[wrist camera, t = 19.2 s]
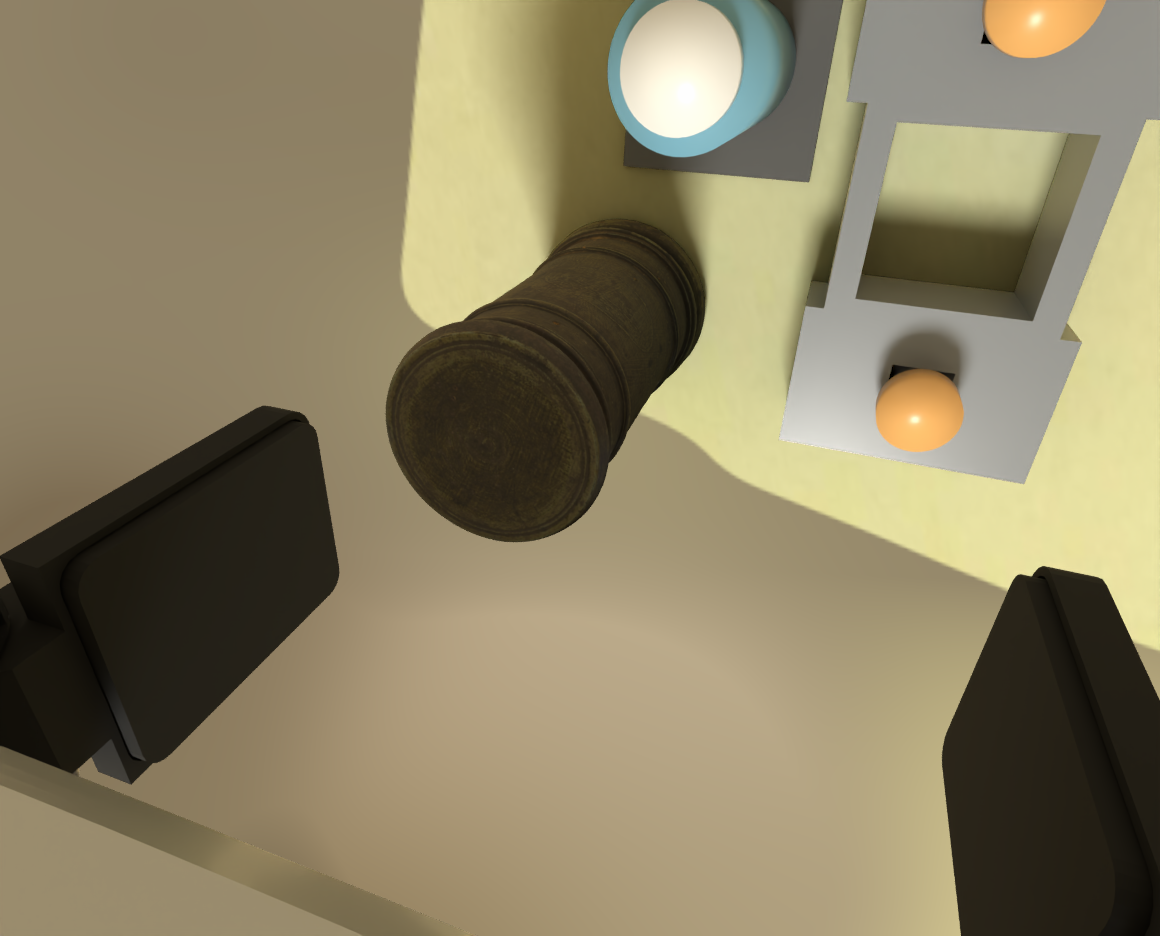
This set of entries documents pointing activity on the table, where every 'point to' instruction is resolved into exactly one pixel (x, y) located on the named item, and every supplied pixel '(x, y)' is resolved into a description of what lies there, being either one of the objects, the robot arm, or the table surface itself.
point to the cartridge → (698, 71)
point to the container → (544, 382)
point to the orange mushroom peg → (918, 409)
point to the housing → (956, 313)
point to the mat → (790, 128)
